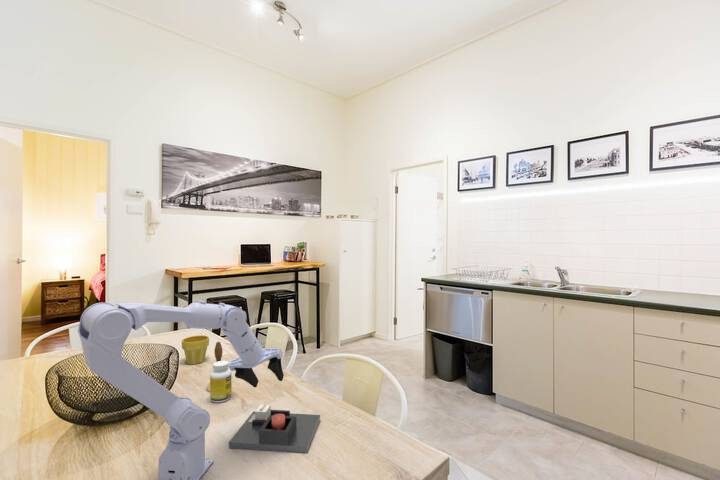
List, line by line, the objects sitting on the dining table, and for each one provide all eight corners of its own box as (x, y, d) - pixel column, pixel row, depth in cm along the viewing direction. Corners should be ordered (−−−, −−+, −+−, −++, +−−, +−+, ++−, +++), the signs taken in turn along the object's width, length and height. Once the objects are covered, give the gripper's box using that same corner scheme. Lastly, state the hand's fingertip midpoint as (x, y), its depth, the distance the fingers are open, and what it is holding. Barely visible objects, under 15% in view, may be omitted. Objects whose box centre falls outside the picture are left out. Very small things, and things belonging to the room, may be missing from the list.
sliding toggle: (265, 422, 94) (265, 409, 94) (255, 422, 95) (254, 409, 95) (270, 415, 98) (270, 402, 98) (260, 414, 99) (260, 402, 99)
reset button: (282, 431, 87) (282, 420, 87) (269, 430, 87) (269, 420, 87) (286, 423, 90) (286, 413, 90) (274, 422, 90) (274, 413, 90)
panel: (307, 453, 84) (307, 433, 84) (229, 447, 86) (228, 429, 86) (320, 420, 99) (320, 403, 99) (253, 416, 101) (253, 400, 101)
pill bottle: (224, 404, 108) (223, 367, 108) (205, 402, 109) (205, 366, 109) (235, 395, 114) (235, 360, 114) (218, 393, 116) (218, 359, 116)
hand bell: (231, 390, 118) (231, 344, 118) (205, 394, 115) (205, 347, 115) (231, 380, 126) (231, 337, 125) (206, 384, 123) (206, 339, 122)
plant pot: (184, 358, 148) (184, 336, 148) (210, 356, 151) (210, 334, 151) (179, 367, 138) (179, 343, 138) (207, 364, 141) (207, 341, 141)
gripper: (275, 327, 90) (296, 363, 96) (226, 340, 93) (249, 375, 98) (268, 346, 84) (291, 384, 89) (216, 360, 86) (241, 396, 92)
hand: (269, 381), depth 93 cm, fingers open, 7 cm apart
